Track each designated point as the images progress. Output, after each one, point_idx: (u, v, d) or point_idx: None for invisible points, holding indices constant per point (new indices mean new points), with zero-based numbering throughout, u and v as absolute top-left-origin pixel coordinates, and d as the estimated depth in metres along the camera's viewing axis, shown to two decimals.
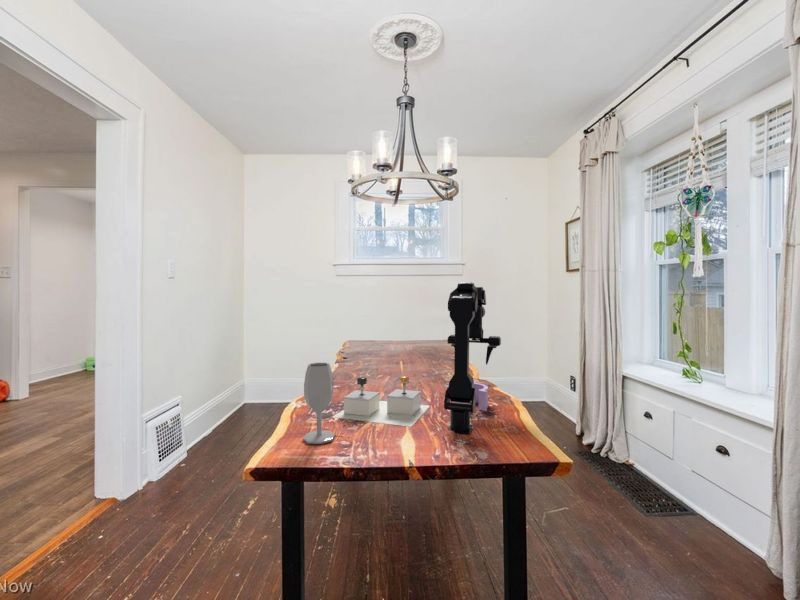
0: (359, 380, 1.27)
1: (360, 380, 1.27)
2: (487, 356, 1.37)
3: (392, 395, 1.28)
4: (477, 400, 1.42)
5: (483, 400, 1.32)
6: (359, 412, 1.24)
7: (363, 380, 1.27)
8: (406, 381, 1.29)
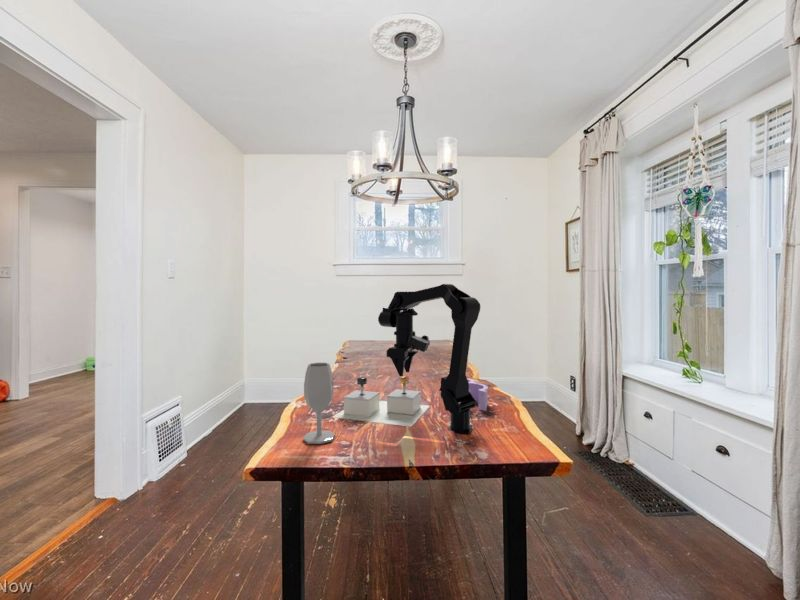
0: (359, 380, 1.27)
1: (360, 380, 1.27)
2: None
3: (392, 395, 1.28)
4: (477, 400, 1.42)
5: (483, 400, 1.32)
6: (359, 412, 1.24)
7: (363, 380, 1.27)
8: (406, 381, 1.29)
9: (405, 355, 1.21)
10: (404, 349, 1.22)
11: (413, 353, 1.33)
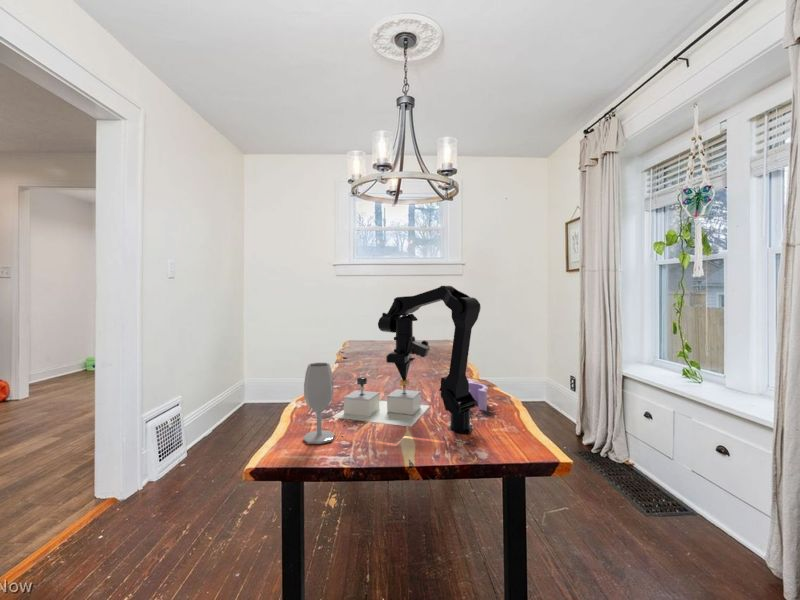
0: (359, 380, 1.27)
1: (360, 380, 1.27)
2: None
3: (392, 395, 1.28)
4: (476, 400, 1.42)
5: (483, 400, 1.32)
6: (359, 412, 1.24)
7: (363, 380, 1.27)
8: (406, 383, 1.29)
9: (405, 361, 1.21)
10: (404, 355, 1.22)
11: (410, 360, 1.30)
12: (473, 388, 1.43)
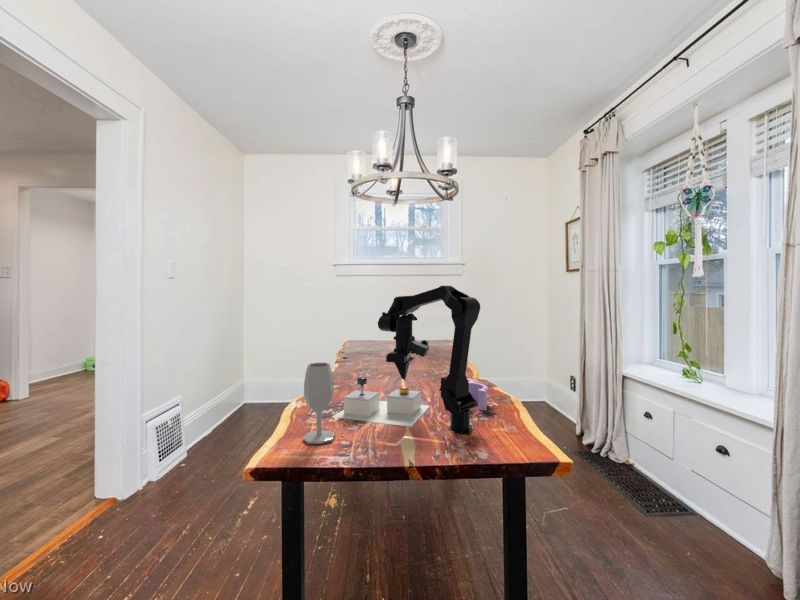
0: (359, 380, 1.27)
1: (360, 380, 1.27)
2: None
3: (392, 395, 1.28)
4: (476, 400, 1.42)
5: (483, 399, 1.32)
6: (359, 412, 1.24)
7: (363, 380, 1.27)
8: (406, 392, 1.29)
9: (405, 360, 1.21)
10: (404, 354, 1.22)
11: (410, 359, 1.30)
12: (473, 388, 1.43)
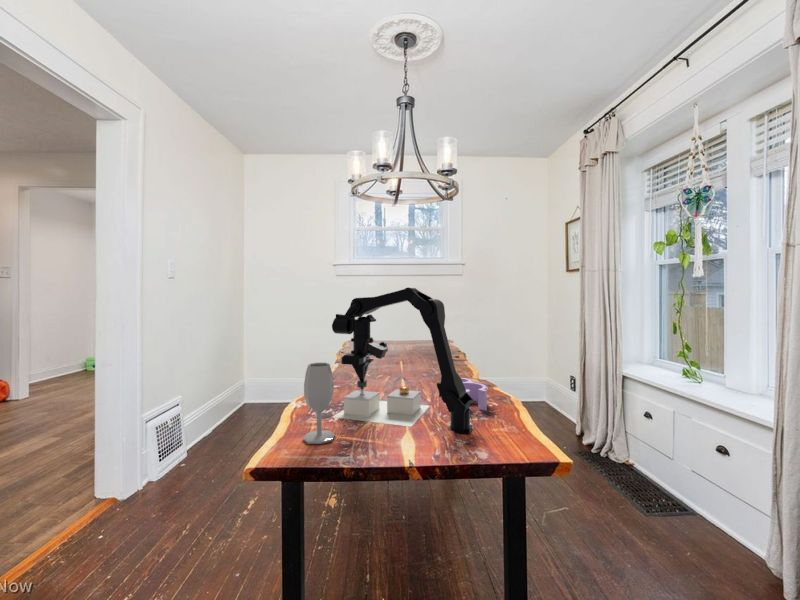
0: (359, 383, 1.27)
1: (360, 383, 1.27)
2: None
3: (392, 395, 1.28)
4: (475, 399, 1.43)
5: (483, 399, 1.32)
6: (359, 412, 1.24)
7: (363, 383, 1.27)
8: (406, 392, 1.29)
9: (360, 362, 1.20)
10: (359, 356, 1.21)
11: (368, 361, 1.29)
12: (472, 388, 1.43)
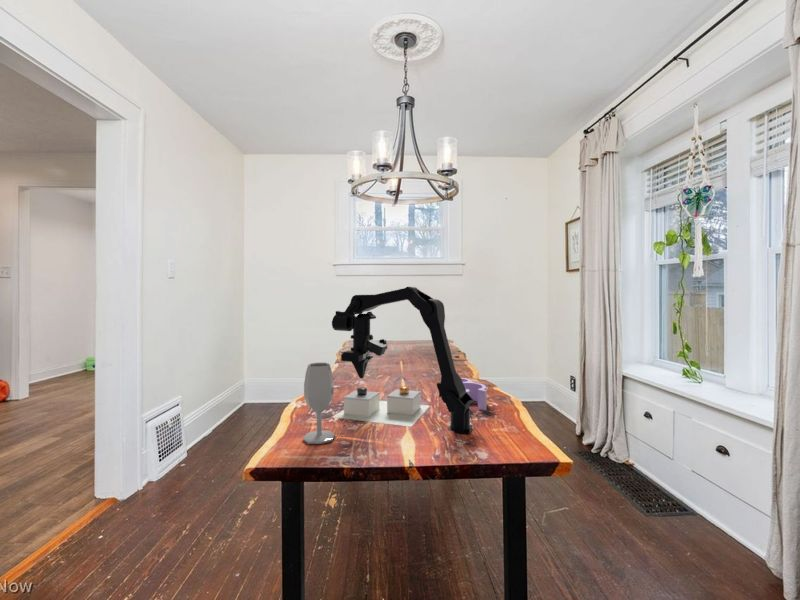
0: (359, 391, 1.27)
1: (360, 391, 1.27)
2: None
3: (392, 395, 1.28)
4: (474, 399, 1.43)
5: (483, 399, 1.33)
6: (359, 412, 1.24)
7: (363, 391, 1.27)
8: (406, 392, 1.29)
9: (359, 359, 1.20)
10: (358, 353, 1.21)
11: (367, 358, 1.29)
12: (472, 388, 1.43)
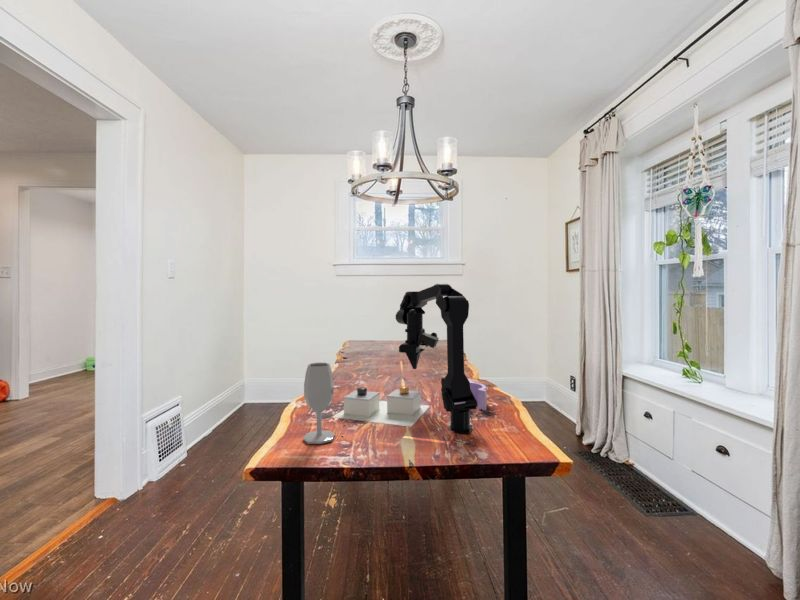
0: (359, 391, 1.27)
1: (360, 391, 1.27)
2: None
3: (392, 395, 1.28)
4: None
5: (483, 399, 1.33)
6: (359, 412, 1.24)
7: (363, 391, 1.27)
8: (406, 392, 1.29)
9: (416, 351, 1.30)
10: (415, 345, 1.31)
11: (420, 350, 1.39)
12: (472, 388, 1.43)
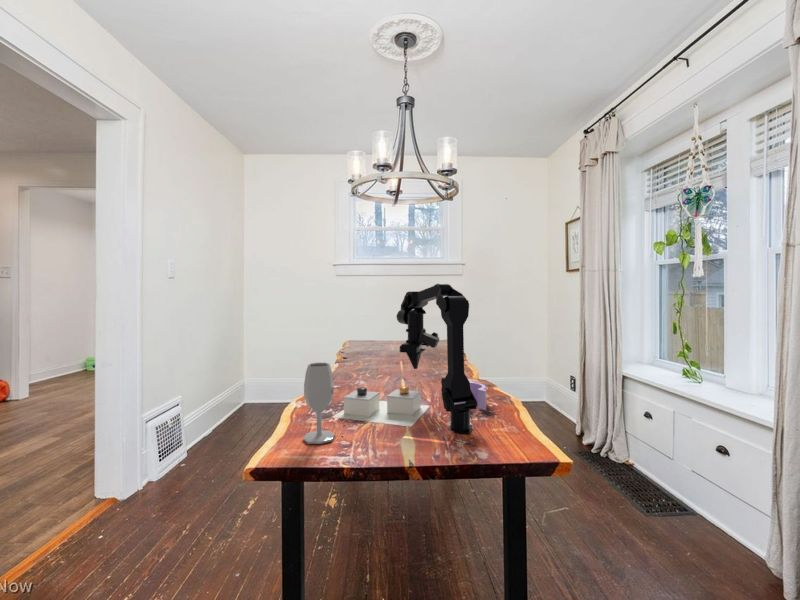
0: (359, 391, 1.27)
1: (360, 391, 1.27)
2: None
3: (392, 395, 1.28)
4: None
5: (483, 399, 1.33)
6: (359, 412, 1.24)
7: (363, 391, 1.27)
8: (406, 392, 1.29)
9: (417, 350, 1.30)
10: (416, 345, 1.31)
11: (421, 350, 1.39)
12: (471, 387, 1.44)
